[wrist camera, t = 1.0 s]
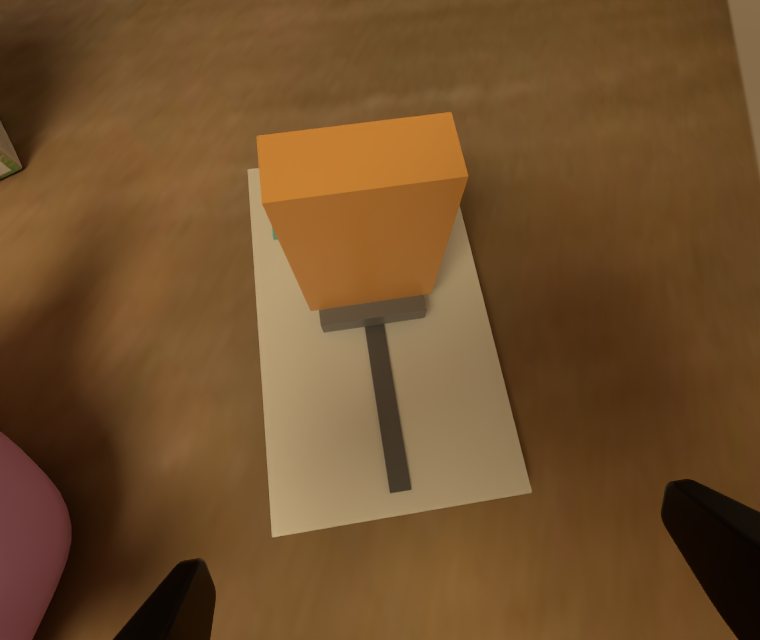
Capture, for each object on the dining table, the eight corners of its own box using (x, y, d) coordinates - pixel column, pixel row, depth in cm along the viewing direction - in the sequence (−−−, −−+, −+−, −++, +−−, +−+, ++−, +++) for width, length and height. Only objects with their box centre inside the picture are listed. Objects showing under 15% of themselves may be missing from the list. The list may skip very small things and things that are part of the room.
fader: (432, 316, 22) (474, 199, 12) (316, 333, 21) (263, 228, 12) (417, 248, 23) (446, 92, 13) (307, 263, 23) (254, 115, 13)
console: (521, 490, 21) (533, 493, 19) (279, 532, 20) (270, 538, 19) (440, 161, 27) (444, 142, 26) (254, 185, 27) (246, 167, 25)
